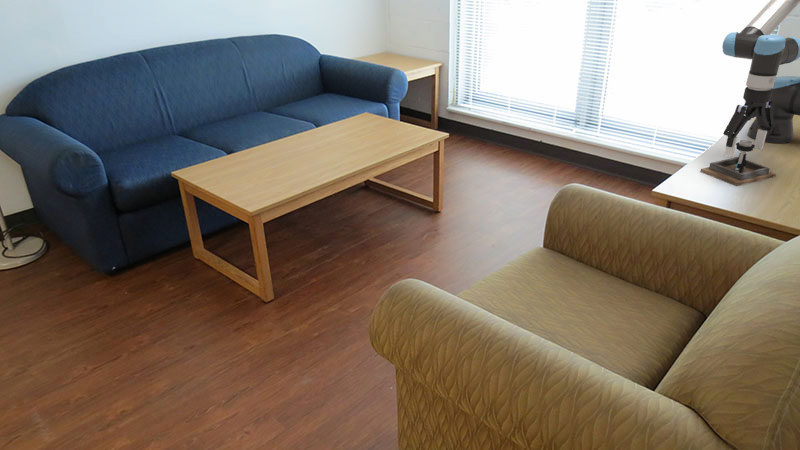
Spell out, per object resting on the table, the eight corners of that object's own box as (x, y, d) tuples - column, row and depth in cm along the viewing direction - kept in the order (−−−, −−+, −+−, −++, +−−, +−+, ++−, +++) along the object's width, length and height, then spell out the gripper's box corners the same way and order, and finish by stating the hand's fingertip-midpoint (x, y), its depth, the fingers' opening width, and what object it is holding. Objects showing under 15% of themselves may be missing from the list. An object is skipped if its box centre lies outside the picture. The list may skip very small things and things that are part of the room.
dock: (737, 163, 206) (739, 154, 205) (775, 176, 195) (777, 167, 193) (700, 171, 200) (702, 163, 198) (736, 186, 188) (739, 177, 187)
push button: (743, 176, 193) (751, 146, 189) (726, 172, 196) (733, 143, 192) (750, 170, 197) (757, 141, 193) (732, 166, 201) (739, 138, 196)
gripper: (741, 95, 177) (726, 162, 186) (797, 85, 186) (780, 149, 195) (720, 90, 183) (706, 155, 193) (775, 80, 192) (759, 142, 202)
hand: (743, 152), depth 194 cm, fingers open, 13 cm apart
